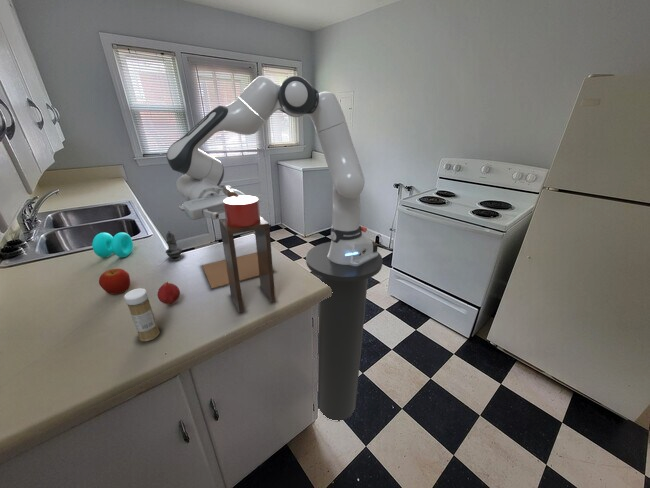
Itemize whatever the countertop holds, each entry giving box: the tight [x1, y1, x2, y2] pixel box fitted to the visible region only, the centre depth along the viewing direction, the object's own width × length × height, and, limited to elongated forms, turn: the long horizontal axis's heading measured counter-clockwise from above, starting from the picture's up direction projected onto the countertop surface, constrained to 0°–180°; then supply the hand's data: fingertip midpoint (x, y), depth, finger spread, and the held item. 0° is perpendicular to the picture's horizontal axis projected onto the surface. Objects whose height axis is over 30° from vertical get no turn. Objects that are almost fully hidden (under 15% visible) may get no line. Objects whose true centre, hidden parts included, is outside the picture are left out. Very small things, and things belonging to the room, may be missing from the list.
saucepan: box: [223, 187, 261, 227], centre depth 78 cm, size 9×22×6 cm, turn 32°
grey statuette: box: [165, 230, 184, 262], centre depth 106 cm, size 6×6×12 cm
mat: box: [201, 252, 275, 290], centre depth 101 cm, size 22×18×1 cm
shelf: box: [218, 215, 276, 314], centre depth 80 cm, size 11×10×26 cm
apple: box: [98, 268, 131, 295], centre depth 86 cm, size 8×8×8 cm
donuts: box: [91, 231, 134, 258], centre depth 107 cm, size 10×10×10 cm
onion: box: [156, 281, 181, 306], centre depth 80 cm, size 6×6×8 cm
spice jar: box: [123, 287, 161, 342], centre depth 67 cm, size 5×5×13 cm
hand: (230, 213), depth 84 cm, fingers open, 8 cm apart
